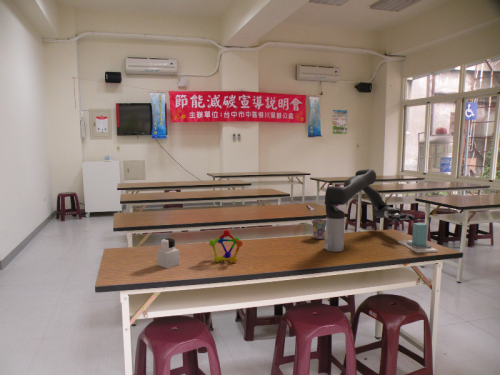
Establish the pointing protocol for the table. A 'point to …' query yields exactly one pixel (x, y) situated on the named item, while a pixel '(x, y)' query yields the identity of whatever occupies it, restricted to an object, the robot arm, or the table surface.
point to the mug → (318, 228)
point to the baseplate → (417, 248)
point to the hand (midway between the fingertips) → (406, 219)
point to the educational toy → (228, 254)
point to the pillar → (419, 234)
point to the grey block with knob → (168, 254)
